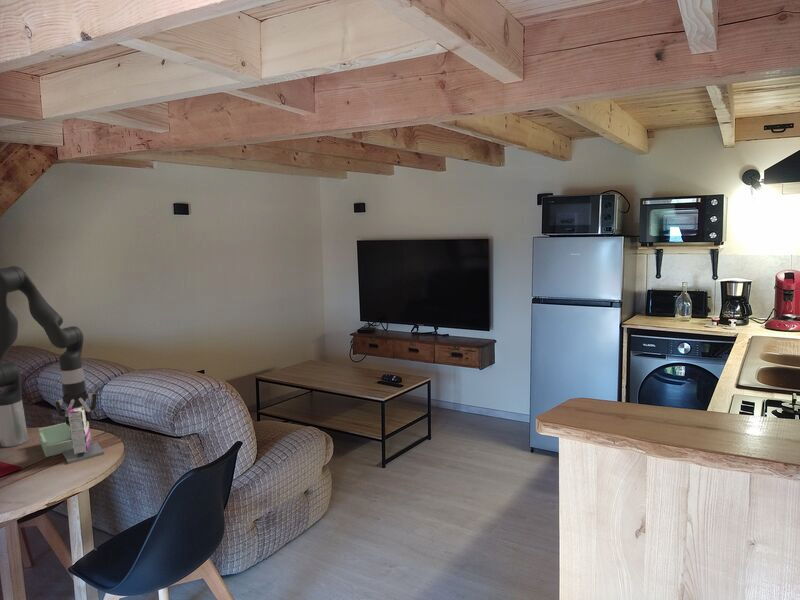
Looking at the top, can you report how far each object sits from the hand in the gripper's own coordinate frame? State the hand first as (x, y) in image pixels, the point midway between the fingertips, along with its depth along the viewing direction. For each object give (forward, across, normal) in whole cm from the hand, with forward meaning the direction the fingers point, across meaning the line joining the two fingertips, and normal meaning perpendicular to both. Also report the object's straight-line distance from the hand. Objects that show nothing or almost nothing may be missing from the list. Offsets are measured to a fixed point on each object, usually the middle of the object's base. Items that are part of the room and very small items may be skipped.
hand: (78, 422), depth 213 cm
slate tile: (+12, 0, 0) cm, 12 cm away
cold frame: (+13, +3, -14) cm, 19 cm away
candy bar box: (+10, 0, 0) cm, 10 cm away
